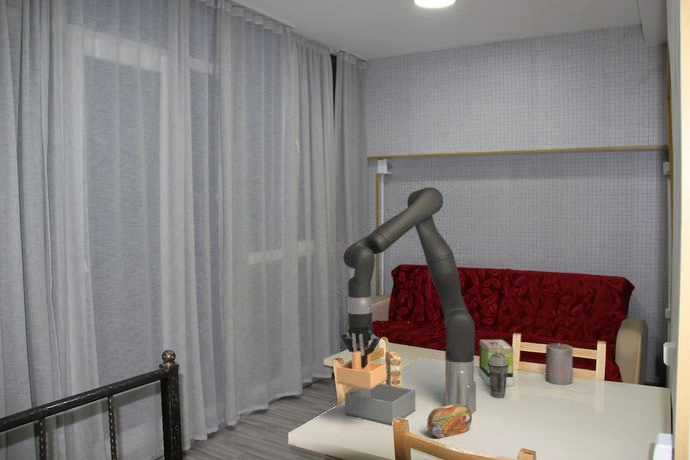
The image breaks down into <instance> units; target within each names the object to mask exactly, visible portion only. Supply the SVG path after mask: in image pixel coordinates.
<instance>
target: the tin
mask: <svg viewBox="0 0 690 460" xmlns="http://www.w3.org/2000/svg"><path fill="white" fill-rule="evenodd" d="M472 418H473V417H472V414H471V411H470V409H469V408H468V407H467V406H465V405H461V404H453V405H449V406H441V407H437V408H434V409H432V410H431V412H429V414H428V417H427V421H426V422H427V423H426V424H427V425H426V426H427V430H428V431H429V433H430V434H431V435H433V436H434V437H436V438H438V439H444V438H447V437H453V436H456V435H460V434H463V433H466V432H468V430H469V428H470V427H471V424H472V420H473V419H472Z"/></svg>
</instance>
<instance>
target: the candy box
mask: <svg viewBox="0 0 690 460" xmlns="http://www.w3.org/2000/svg"><path fill="white" fill-rule="evenodd" d="M384 356H385V364H386V372H387V380H386V381H385V384H386V385H391V386H396V387H402V358H401V356H400V355H399V354H398V352H396V351H388V352H387V351H386V352H385V355H384Z"/></svg>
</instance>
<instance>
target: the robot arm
mask: <svg viewBox="0 0 690 460" xmlns="http://www.w3.org/2000/svg"><path fill="white" fill-rule="evenodd" d="M406 203H407V205H406V206H407V208H405V209H403V210H402V211H401V212H400V213H397V214H396V215H395V216H393V217H391V218H389V219H388V220H386V221H384V222H383V223H382V224H380V225H379V226H378V227H377V228H375V229H374V230H373V231H372V232H371V233H369V234H368V235H367V236H364V237H363V238H361V239H359V240H357V241H356V242H354V243H352V244H351V245H350V246H348V247H347V248H346V249H345V251H344V253H343V257H342V258H343V262H344V264H345V265H346V266H347V268H350V269H354V274H353V276H351V278H349V279H348V283H347V285H348V286H347V288H348V289H347V291H348V294H347V295H348V299H347V325H348V329H347V332H346V333H344V334H342V335H341V339H342V341H343V343H344V345H345V346H346V348H347V350H348V351H349V353H354V352H357V351H359V350H361V355H362V356H361V367H362V368H364V367H366V365H367V364H368V354H370V355H371V354H373V352H374V351H375V349H376V347H378V344H379V343H380V341H381V337H380V336H376V335H375V334H374V330H373V301H372V280H373V279H372V278H373V275H374V271H375V265H376V257H375V255H377V254H378V255H379V254H382V253H383V252H385V251H386V250H388V248H390V247H391V246H392V245H393V244H394V243H396V242H397V241H398V240H399V239H401V238H402V237H403V236H404V235H405V234H407V232H409V231H410V230H411V229H413V228H414V227H415V229H416V232H417V235H418V237H419V242H420V244H421V248H422V252H423V255H424V257H425V261H426V266H427V268H428V272H429V275H430V278H431V281H432V283H433V285H434V288H435V290H436V292H437V295H438V297H439V300H440V304H441V309H442V313H443V318H444V327H445V353H444V355H445V359H444V360H445V362H444V363H445V369H444V370H445V372H444V373H445V381H444V382H445V389H444V390H445V393H444V394H445V401H444V402H445V406H449V405H453V404H461V405H465V406H467V407H468V408H469V409H470V411H471V415H472V414H473V413H474V412H475V411H477V396H476V395H477V382H476V381H474V380H475V378H474V377H475V374H474V373H475V370H474V369H475V368H474V367H475V365H474V362H475V361H474V358H475V352H476V351H475V350H476V349H475V347H476V346H475V345H476V344H475V343H476V341H475V339H476V325H475V322H474V320H473V318H472V316H471V315H470V313H469V311H468V308H467V306H466V303H465V300H464V298H463V296H462V295H463V294H462V291H461V284H460V275H459V270H458V266H457V263H456V260H455V255H454V253H453V250H452V248H451V247H450V245H449V244H448V242H447V241H446V240H445V238H444V237H443V236H442V235H441V233H440V232H439V231H438V229H437V226H436V224H435V220H434V217H433V215H435V214H437V213H438V212H440V211H441V209H442V207H443V205H444V197H443V194H442V193H441V191H440V190H439V189H437V188H435V187H432V186H431V187H424V188H421V189H418V190H414V191H413V192H411V193H410V194H409V196H408V197H407V202H406ZM445 406H444V407H445Z"/></svg>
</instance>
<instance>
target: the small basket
mask: <svg viewBox="0 0 690 460" xmlns="http://www.w3.org/2000/svg"><path fill="white" fill-rule="evenodd" d="M361 356H362V355H361V350H359V351H357V352H354V353H353V352H351V360H349V361H347V362H346V363H343V364H341V365H339V366H337V367H336V369H335V370H336V384H338V385H345V386H349V387H355V388H358V387H360V388H366V389H372V388H374V387H375V386H377V385H379V384H383V383H384V382H386V380H387V372H386V363H381V362H374V361H373V362H372V361H371V353H370V354H368V364H367V365H366V367H364V368H362V367H361Z"/></svg>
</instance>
